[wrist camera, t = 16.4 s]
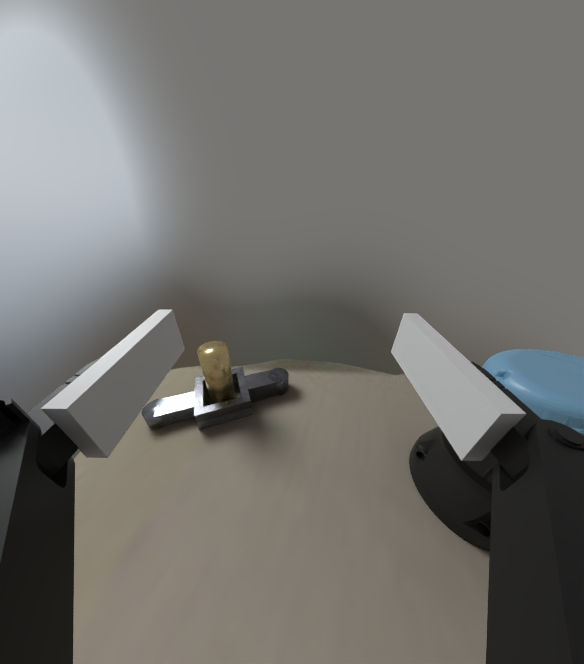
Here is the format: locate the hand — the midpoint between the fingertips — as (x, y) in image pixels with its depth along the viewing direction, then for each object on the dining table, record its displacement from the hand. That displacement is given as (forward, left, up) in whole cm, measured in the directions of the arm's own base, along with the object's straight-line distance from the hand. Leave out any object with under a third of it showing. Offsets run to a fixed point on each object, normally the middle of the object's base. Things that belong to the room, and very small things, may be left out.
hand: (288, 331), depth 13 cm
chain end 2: (+2, -23, -30) cm, 38 cm away
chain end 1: (+11, -23, -30) cm, 39 cm away
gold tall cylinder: (+6, -23, -30) cm, 38 cm away
